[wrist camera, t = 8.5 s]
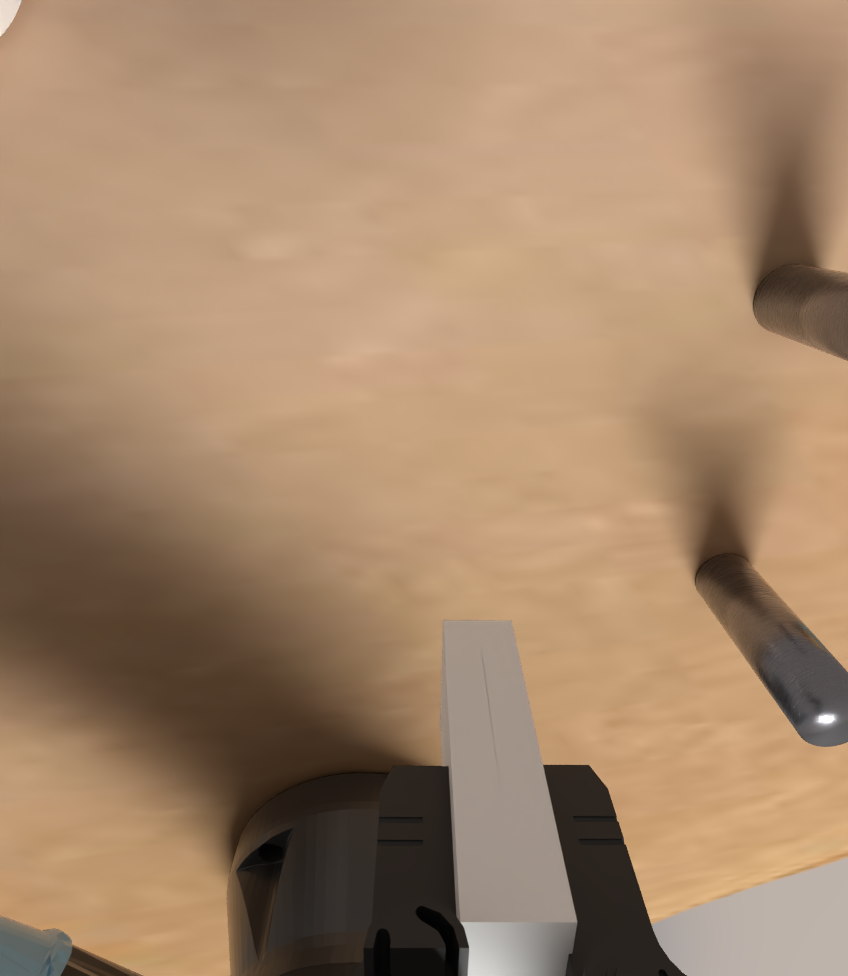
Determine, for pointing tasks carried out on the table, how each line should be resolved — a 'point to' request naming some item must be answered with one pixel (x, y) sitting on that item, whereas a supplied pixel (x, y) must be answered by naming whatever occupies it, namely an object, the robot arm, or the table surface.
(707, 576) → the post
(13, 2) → the can
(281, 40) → the table surface
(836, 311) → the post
